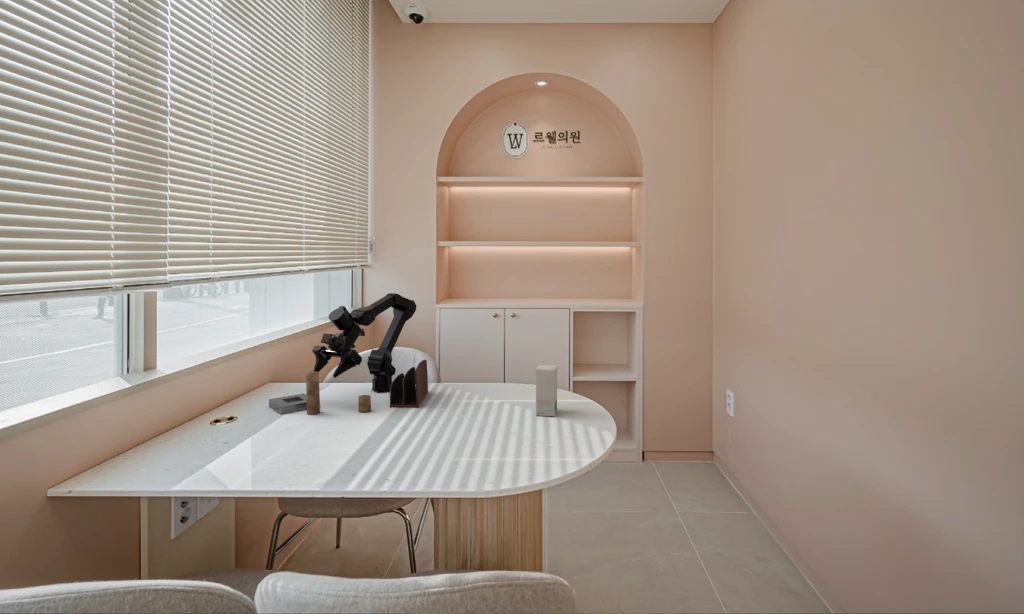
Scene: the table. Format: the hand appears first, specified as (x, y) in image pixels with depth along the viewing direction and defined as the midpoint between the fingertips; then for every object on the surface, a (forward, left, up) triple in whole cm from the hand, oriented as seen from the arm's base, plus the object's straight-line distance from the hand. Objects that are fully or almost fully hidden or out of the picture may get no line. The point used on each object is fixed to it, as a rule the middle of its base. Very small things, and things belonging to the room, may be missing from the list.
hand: (323, 375), depth 176 cm
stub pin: (-10, +10, -12) cm, 18 cm away
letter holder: (-28, +6, -12) cm, 32 cm away
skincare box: (-58, +47, -12) cm, 76 cm away
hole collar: (+8, -9, -12) cm, 17 cm away
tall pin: (+4, +2, -12) cm, 13 cm away
